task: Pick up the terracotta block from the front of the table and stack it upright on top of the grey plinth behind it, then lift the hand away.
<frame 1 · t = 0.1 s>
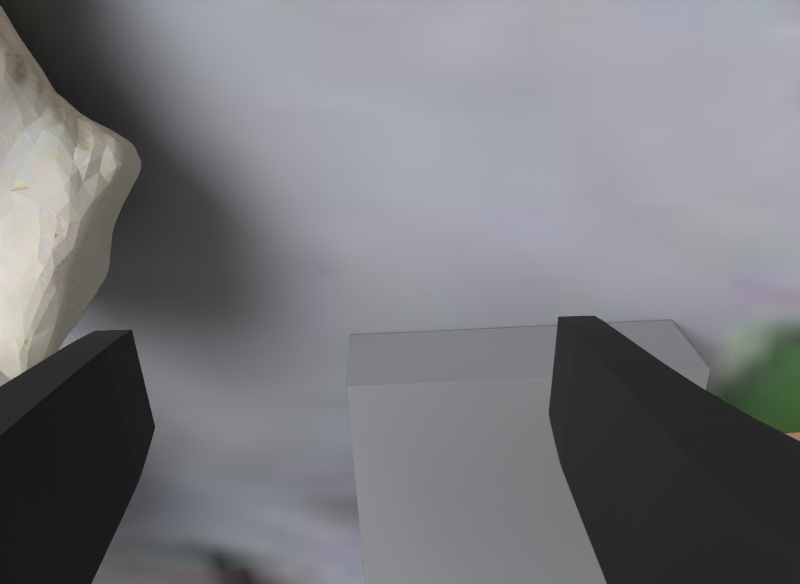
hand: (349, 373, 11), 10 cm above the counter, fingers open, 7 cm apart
plinth: (505, 472, 26), on the counter
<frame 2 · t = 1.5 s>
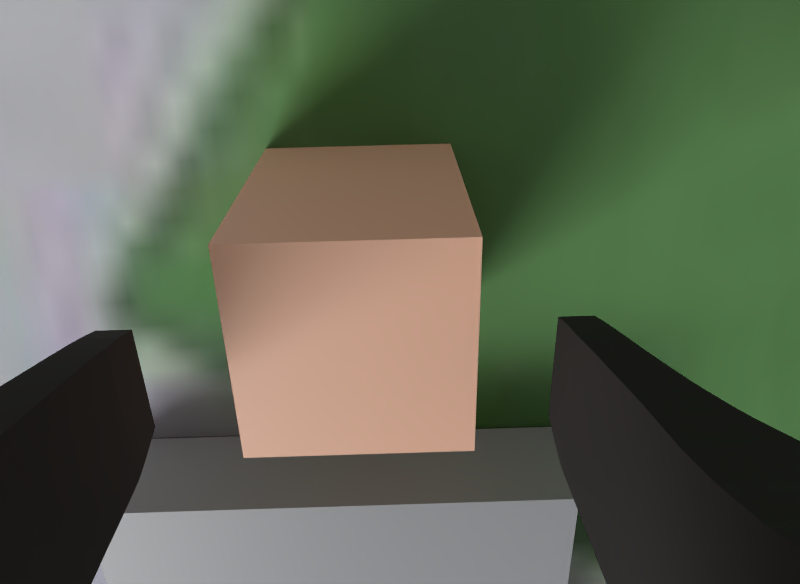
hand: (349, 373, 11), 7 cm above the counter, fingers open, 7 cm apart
terracotta block: (362, 231, 17), on the counter
plinth: (349, 561, 23), on the counter
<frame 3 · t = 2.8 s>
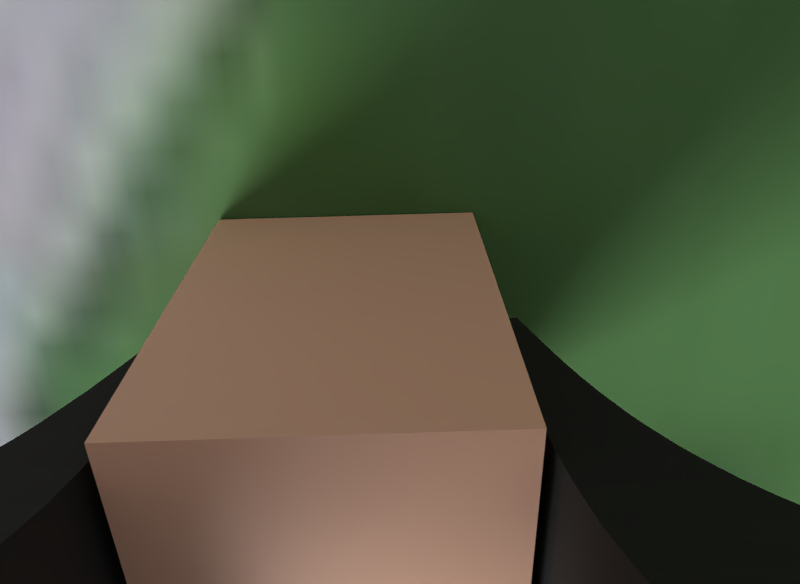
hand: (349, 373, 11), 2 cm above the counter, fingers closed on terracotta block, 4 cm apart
terracotta block: (352, 325, 13), on the counter, touching gripper
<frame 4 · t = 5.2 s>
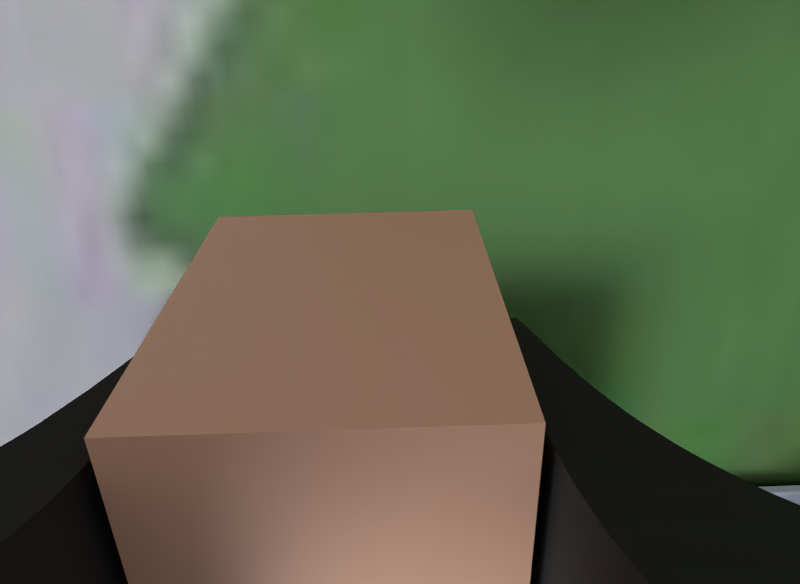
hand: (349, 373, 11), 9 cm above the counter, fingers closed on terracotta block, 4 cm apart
terracotta block: (352, 323, 13), point 7 cm above the counter, touching gripper
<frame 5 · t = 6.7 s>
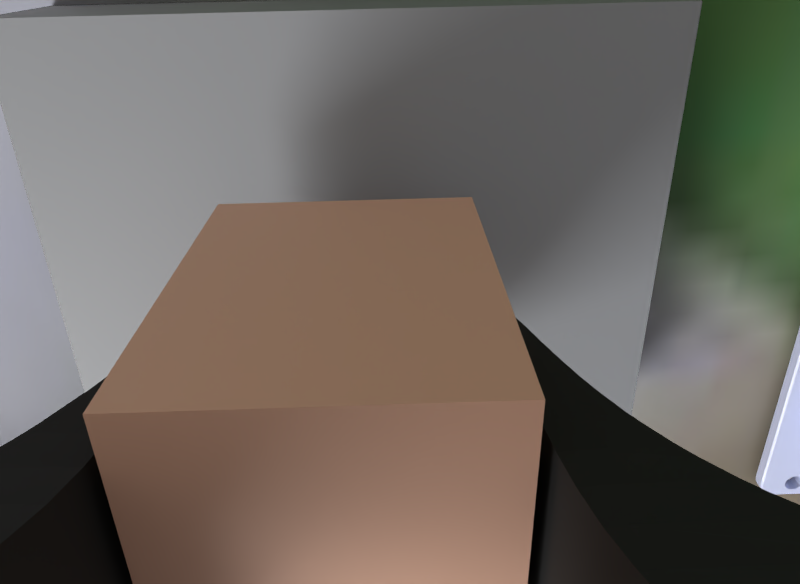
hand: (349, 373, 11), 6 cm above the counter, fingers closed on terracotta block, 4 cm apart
terracotta block: (352, 311, 13), point 5 cm above the counter, touching gripper
plinth: (360, 232, 17), on the counter
when the fingers open (6 cm above the counter, at t = 7.9 s): terracotta block drops 1 cm, resting on plinth.
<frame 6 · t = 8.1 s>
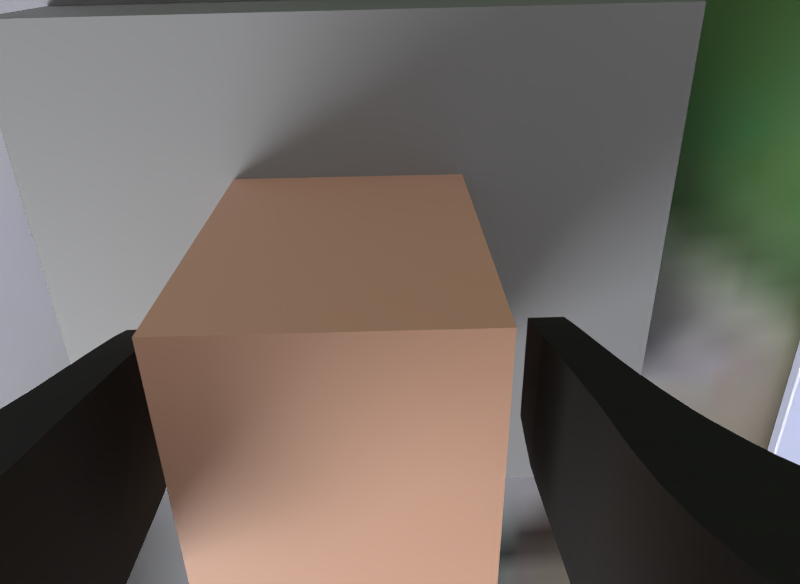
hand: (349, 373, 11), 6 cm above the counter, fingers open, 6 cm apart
terracotta block: (353, 279, 14), point 3 cm above the counter, touching plinth
plinth: (360, 234, 17), on the counter
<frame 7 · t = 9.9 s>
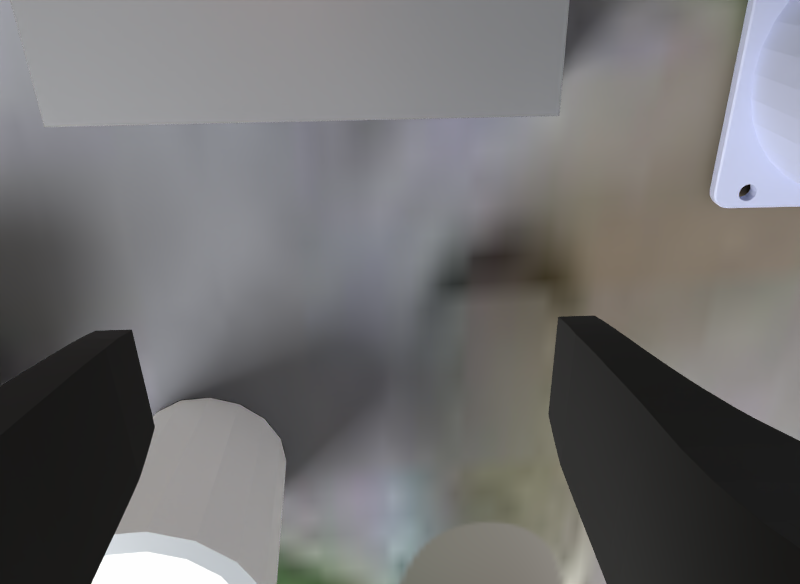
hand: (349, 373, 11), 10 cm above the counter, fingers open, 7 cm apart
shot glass: (214, 453, 26), on the counter
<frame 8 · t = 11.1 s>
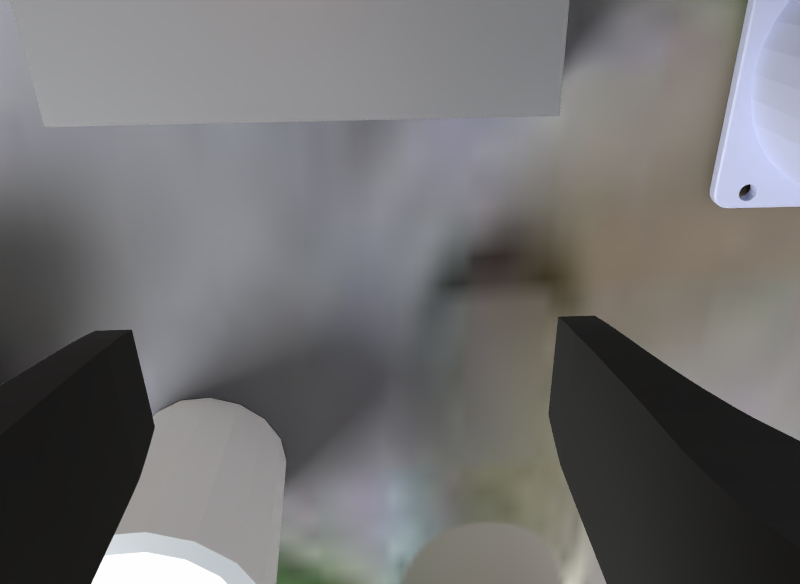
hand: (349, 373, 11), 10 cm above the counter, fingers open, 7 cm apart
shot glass: (214, 453, 26), on the counter
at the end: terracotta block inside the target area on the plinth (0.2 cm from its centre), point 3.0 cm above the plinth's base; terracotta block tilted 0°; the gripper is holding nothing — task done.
